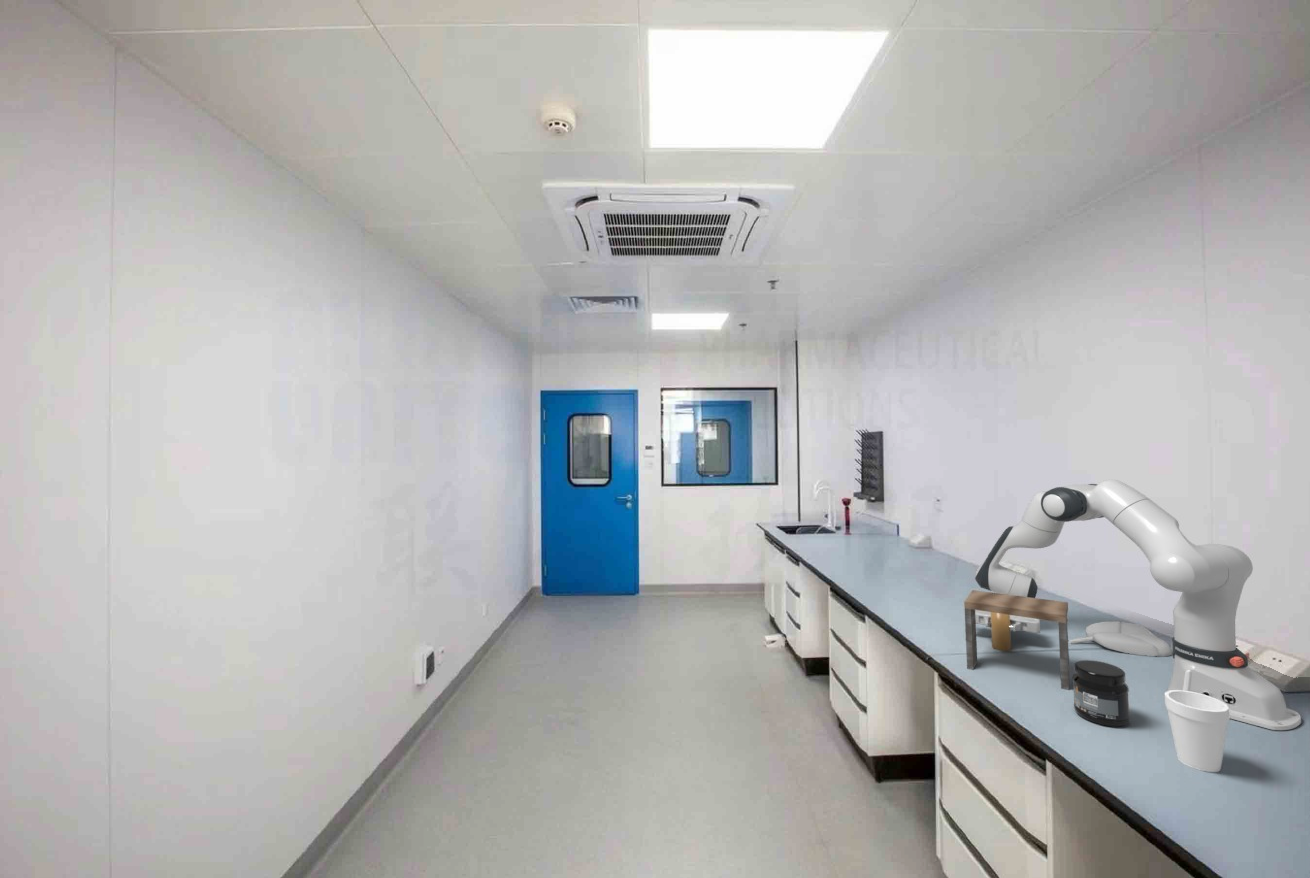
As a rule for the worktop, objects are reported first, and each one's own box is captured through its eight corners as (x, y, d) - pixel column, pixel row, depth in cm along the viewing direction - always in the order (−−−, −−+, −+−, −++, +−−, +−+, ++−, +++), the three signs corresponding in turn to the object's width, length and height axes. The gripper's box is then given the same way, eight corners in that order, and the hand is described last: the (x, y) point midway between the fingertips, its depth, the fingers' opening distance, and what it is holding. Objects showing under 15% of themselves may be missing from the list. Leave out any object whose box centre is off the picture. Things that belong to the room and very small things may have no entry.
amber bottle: (1014, 648, 172) (1013, 606, 172) (1004, 652, 170) (1002, 609, 170) (998, 643, 177) (996, 602, 177) (988, 646, 175) (986, 605, 175)
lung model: (1180, 658, 161) (1086, 662, 166) (1142, 638, 177) (1057, 642, 183) (1177, 636, 161) (1082, 640, 166) (1138, 618, 178) (1054, 622, 183)
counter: (1070, 671, 155) (1067, 602, 155) (1068, 689, 144) (1065, 615, 144) (975, 652, 170) (972, 590, 170) (967, 668, 159) (964, 601, 160)
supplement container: (1120, 710, 133) (1118, 662, 133) (1137, 732, 123) (1135, 680, 123) (1068, 703, 137) (1066, 656, 137) (1081, 723, 128) (1079, 673, 128)
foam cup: (1197, 748, 116) (1194, 689, 116) (1245, 775, 107) (1242, 710, 107) (1155, 751, 116) (1152, 691, 116) (1199, 778, 107) (1196, 713, 107)
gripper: (970, 601, 190) (963, 611, 179) (1041, 611, 177) (1038, 623, 166) (971, 618, 190) (964, 630, 179) (1042, 630, 177) (1038, 643, 166)
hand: (1000, 627), depth 173 cm, fingers closed on amber bottle, 5 cm apart
